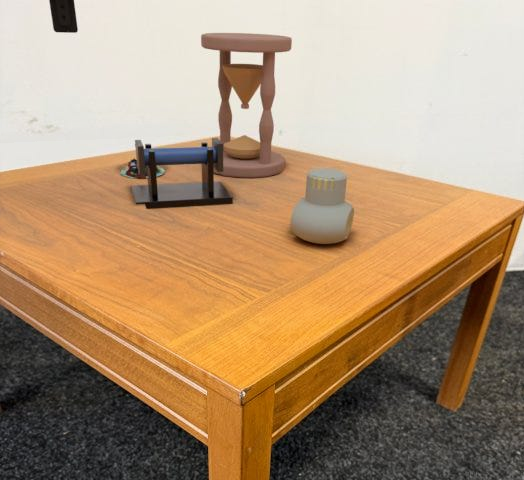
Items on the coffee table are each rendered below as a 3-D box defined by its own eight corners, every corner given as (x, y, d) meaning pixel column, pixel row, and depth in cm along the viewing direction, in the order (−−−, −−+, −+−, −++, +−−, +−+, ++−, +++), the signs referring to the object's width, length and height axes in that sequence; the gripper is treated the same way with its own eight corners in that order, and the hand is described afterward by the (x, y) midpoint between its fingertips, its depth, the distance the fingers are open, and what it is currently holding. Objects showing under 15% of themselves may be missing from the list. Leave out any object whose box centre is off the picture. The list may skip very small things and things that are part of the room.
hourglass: (191, 161, 122) (186, 32, 109) (258, 154, 130) (262, 33, 116) (227, 182, 110) (227, 38, 96) (300, 173, 117) (309, 39, 104)
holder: (136, 209, 94) (131, 155, 89) (131, 192, 102) (126, 141, 97) (232, 203, 98) (233, 151, 94) (220, 187, 106) (220, 139, 102)
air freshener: (304, 223, 91) (308, 161, 86) (353, 230, 89) (361, 167, 84) (285, 246, 82) (289, 179, 77) (340, 254, 80) (348, 186, 75)
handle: (140, 175, 94) (137, 146, 91) (137, 168, 98) (134, 139, 95) (223, 171, 98) (223, 143, 95) (217, 164, 101) (217, 137, 99)
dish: (170, 163, 111) (137, 139, 109) (150, 192, 110) (117, 168, 108) (166, 172, 118) (136, 150, 116) (147, 199, 118) (117, 177, 116)
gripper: (19, -115, 77) (41, 26, 86) (8, -138, 63) (36, 33, 72) (75, -110, 79) (91, 27, 88) (76, -132, 65) (95, 34, 74)
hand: (66, 30), depth 80 cm, fingers open, 9 cm apart
